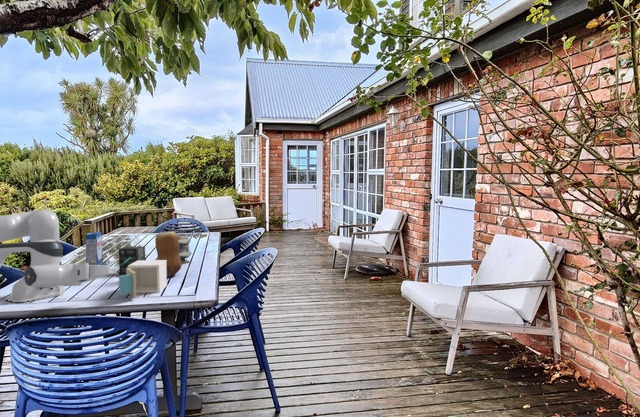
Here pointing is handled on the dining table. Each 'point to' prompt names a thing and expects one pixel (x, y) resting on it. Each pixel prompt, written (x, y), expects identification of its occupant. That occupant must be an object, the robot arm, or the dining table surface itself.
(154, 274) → the carton
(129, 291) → the flap
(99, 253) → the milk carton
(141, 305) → the dining table surface
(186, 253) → the apothecary jar
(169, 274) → the butternut squash
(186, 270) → the dining table surface
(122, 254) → the tampon box
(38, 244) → the robot arm
